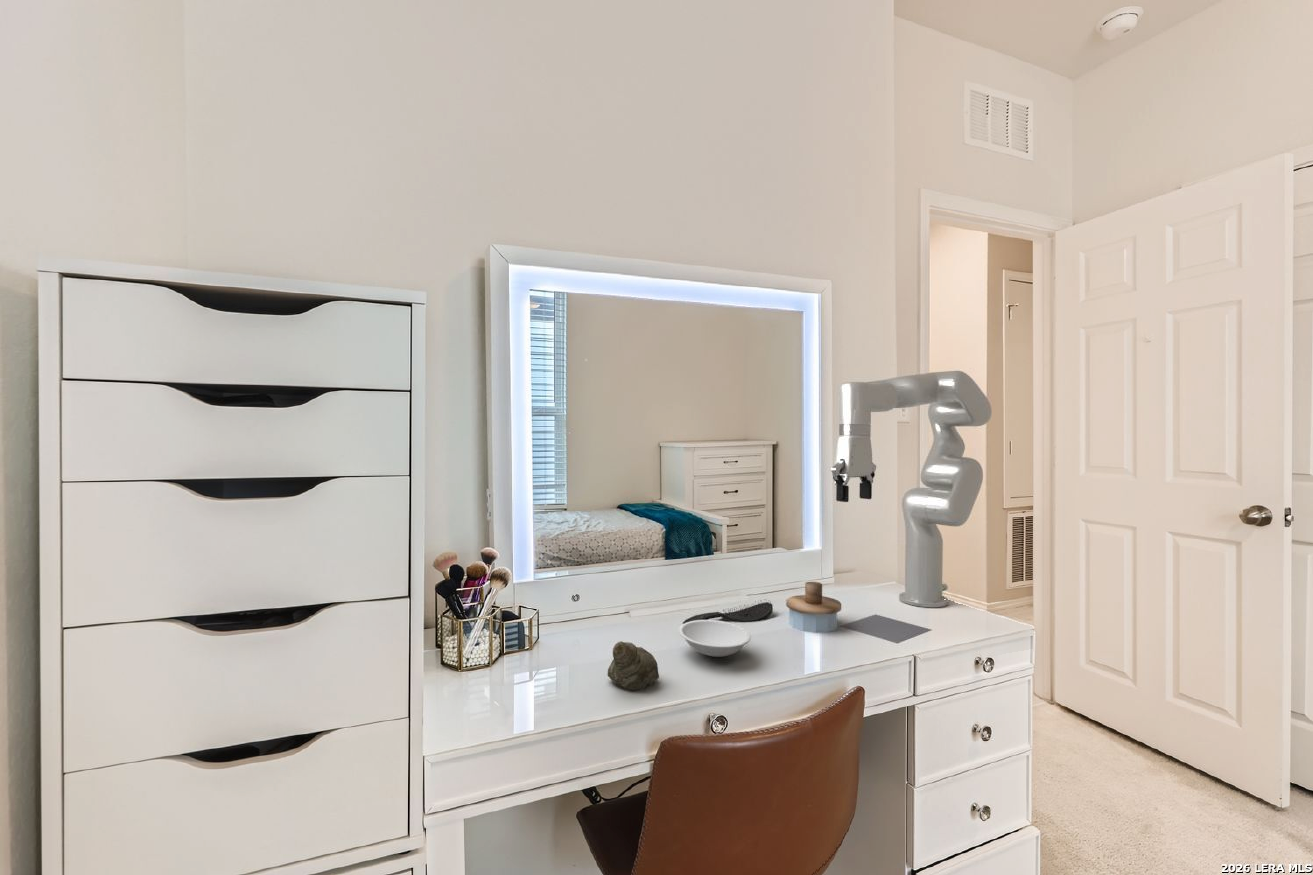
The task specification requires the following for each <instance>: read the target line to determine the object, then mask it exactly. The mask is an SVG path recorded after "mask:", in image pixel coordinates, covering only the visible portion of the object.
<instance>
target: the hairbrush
mask: <svg viewBox="0 0 1313 875" xmlns="http://www.w3.org/2000/svg"><path fill="white" fill-rule="evenodd" d="M763 600H764V601H763ZM763 600H762V599H760V600H758V601H760V602H757V603H756V604H752V605H750V606H748V605H746V604H744V606H741V605H739V607H735V606H734V608H732V607H731V608H730V609H729V608H727V610H728V611H727V610H725V609H723V610H722V611H723V613H722V612H719V611H714V612H706V613H700V614H695V615H693V616H690V617H689V618H686V619H685V620H684V621H683V622H682V625H683V624H684V623H687V622H690V621H695V620H713V619H717V618H723V619H724V620H728V621H730V622H734V623H754V622H762V621H765V620H766V619H767V618H768V617H769V616H771V615H772V613H773V611H774V610H773V609H774V608H773V606H774V605H773V603H772V601H770V600H769V599H768V600H767V599H765V598H764V599H763ZM762 601H763V602H762ZM738 608H739V609H738ZM733 610H734V611H733Z"/></svg>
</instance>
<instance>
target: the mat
mask: <svg viewBox="0 0 1313 875" xmlns="http://www.w3.org/2000/svg"><path fill="white" fill-rule="evenodd" d="M840 627H841V628H845V629H848V630H852V631H855V632H858V633H861V634H865V635H868V636H871V637H874V638H879V639H881V640H885V641H888V642H891V643H893V644H900V643H902V642H904V641H907V640H909V639H912V638H915V637H917V636H920V635H923V634H925V633H927V632H930V631H932V628H928V627H923V626H920V625H915V624H913V623H909V622H905V621H901V620H897V619H893V618H890V617H886V616H882V615H881V614H873V615H870V616H867V617H863V618H860V619H857V620H853V621H851V622H848V623H844V624H842V625H840Z"/></svg>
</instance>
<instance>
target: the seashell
mask: <svg viewBox="0 0 1313 875" xmlns="http://www.w3.org/2000/svg"><path fill="white" fill-rule="evenodd" d="M612 657H613V660H612V661H611V663H610V665H609V667H608V668H607V675H606V676H607V677H609V679H610V680H611V681H612V682H613V683H614V684H616V685H617V686H619V687H623V688H625V690H628V691H630V690H631V691H642V690H643V689H645V687H646V686H652V685H653V684H655V682H656V681H657V680H658V679H659V678H660V674H659V666H658V662H657V659H656V658H655V657H654V655H653V654H652V653H651V652H650V651H647V649H645V648H644V647H641V646H636V645H635V644H634V643H632V642H629V641H627V642H626V641H622V640H621V641H618V642H616V644H615V645H614V646H613V648H612ZM641 689H642V690H641Z"/></svg>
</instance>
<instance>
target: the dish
mask: <svg viewBox="0 0 1313 875" xmlns="http://www.w3.org/2000/svg"><path fill="white" fill-rule="evenodd" d="M678 633H679V635H680V636H681V637H682V638H683V639H684V640H685V641H686V643H687V644H688V645H689V646H690V647H691V648H692V649H693V650H695V651H696V652H698V653H700V654H702V655H706V656H710V657H712V658H716V657H718V658H719V657H720V658H721V657H727V656H731V655H733V654H736V653H737V652H738V651H741V649H742V648H743V647H744V646H745V645H747V644H748V643H749V642H750V640H751V639H752V638H751V637H752V636H751V633H750V632H749V631H748V630H746V629H745V628H743V627H742V626H739V625H737V624H735V623H731V622H727V621H722V620H716V619H708V620H695V621H690V622H687V623H684V624H683V623H682V624H681V625H680V626H679V628H678Z"/></svg>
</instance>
